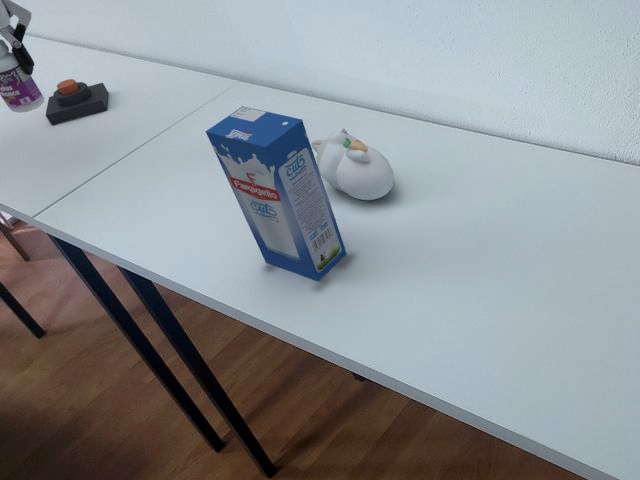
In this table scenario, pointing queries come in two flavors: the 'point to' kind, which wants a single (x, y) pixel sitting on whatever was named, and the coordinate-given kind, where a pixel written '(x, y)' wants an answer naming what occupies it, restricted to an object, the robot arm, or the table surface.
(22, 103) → the pill bottle
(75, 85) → the lid button
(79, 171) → the table surface
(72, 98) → the black button base
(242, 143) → the milk carton
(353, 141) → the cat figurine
